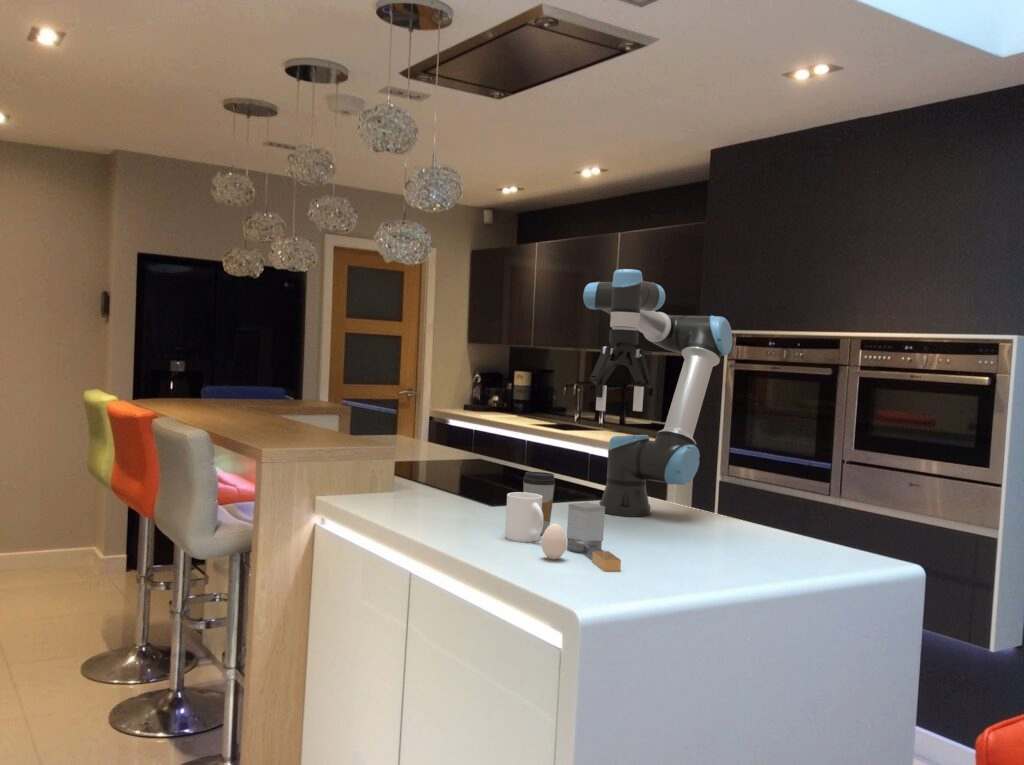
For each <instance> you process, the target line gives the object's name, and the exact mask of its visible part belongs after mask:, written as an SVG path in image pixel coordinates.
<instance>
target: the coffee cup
mask: <svg viewBox="0 0 1024 765" xmlns="http://www.w3.org/2000/svg"><path fill="white" fill-rule="evenodd" d="M522 484H523V491H522V492H525V493H534V494H539V495H542V512H543V519H544V521H543V529H542V532H541V534H540V536H543V534H544V532H545V530H546V529H547V527H548V526H549V525H551V524H550V523H551V517H552V509H553V501H554V493H555V485H556V478H555V475H554V474H553V473H550V472H543V471H526V472H524V476H523V480H522ZM541 525H542V522H541Z"/></svg>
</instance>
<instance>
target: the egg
mask: <svg viewBox="0 0 1024 765" xmlns="http://www.w3.org/2000/svg"><path fill="white" fill-rule="evenodd" d="M541 549H542V552H543V554H544V556H545V557H547V559H549V560H557V559H560V558H561V557H562V556H563V554H565V553H566V552H565V551H566V550H567V534H566V533H565V531H564V528H563V527H562V526H561V525H560V524H559V523H552V524H550V525H549V526H548V527H547V529H546V530H545V532H544V534H543V535H541Z"/></svg>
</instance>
